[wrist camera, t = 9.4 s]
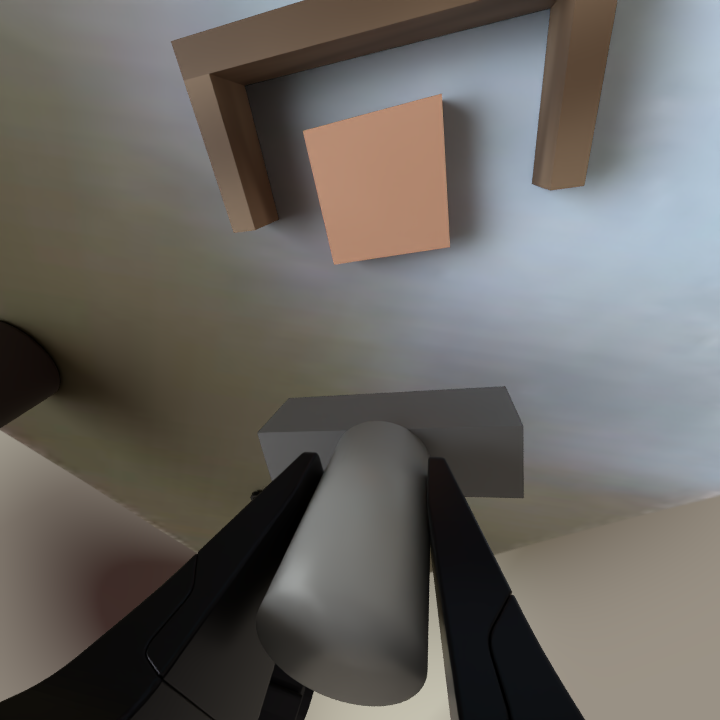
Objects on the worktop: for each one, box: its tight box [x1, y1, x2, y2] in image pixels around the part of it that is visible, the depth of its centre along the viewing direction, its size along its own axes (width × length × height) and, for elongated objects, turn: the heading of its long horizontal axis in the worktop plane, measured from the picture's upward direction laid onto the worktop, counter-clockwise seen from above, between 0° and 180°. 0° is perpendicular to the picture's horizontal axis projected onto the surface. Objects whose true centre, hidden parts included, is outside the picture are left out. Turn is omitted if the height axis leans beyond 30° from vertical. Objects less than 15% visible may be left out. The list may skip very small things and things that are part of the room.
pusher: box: [256, 386, 524, 706], centre depth 9 cm, size 3×8×8 cm, turn 102°
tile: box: [303, 94, 450, 265], centre depth 14 cm, size 5×5×2 cm
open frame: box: [171, 0, 617, 233], centre depth 12 cm, size 6×13×2 cm, turn 99°
